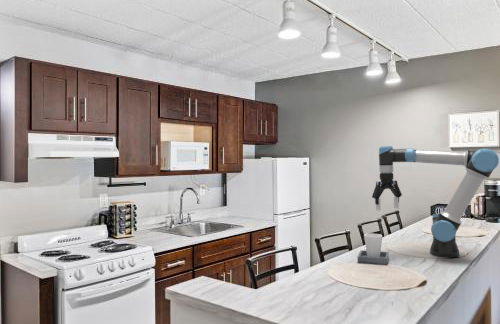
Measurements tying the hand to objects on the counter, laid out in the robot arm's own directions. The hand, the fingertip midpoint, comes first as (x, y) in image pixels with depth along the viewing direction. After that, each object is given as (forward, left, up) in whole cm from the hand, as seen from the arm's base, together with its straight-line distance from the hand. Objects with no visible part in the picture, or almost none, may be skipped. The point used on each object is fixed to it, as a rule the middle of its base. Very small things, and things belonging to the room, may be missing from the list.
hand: (387, 209), depth 224 cm
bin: (+7, +16, -26) cm, 32 cm away
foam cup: (+7, +16, -26) cm, 31 cm away
